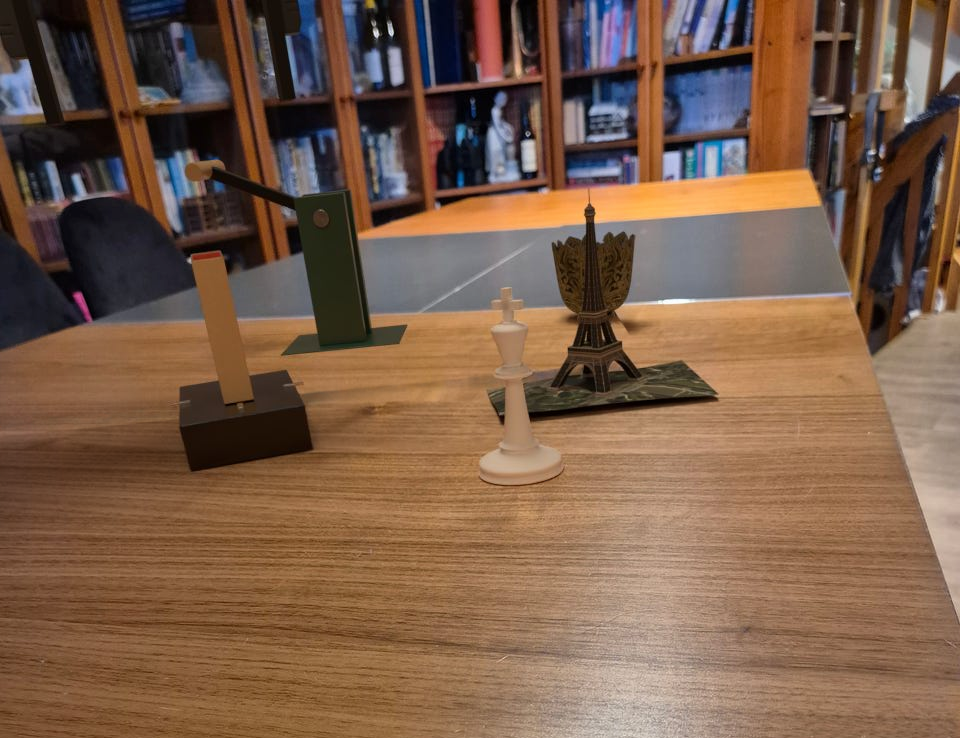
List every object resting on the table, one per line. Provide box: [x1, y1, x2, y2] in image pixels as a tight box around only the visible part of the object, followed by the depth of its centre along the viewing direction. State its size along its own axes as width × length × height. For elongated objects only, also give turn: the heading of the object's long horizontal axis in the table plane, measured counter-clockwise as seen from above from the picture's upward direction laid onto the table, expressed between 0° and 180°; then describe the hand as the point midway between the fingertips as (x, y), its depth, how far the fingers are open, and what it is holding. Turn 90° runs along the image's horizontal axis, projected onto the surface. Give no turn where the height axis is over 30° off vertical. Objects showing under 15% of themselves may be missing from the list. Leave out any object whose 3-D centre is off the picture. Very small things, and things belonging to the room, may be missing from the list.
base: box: [168, 369, 314, 472], centre depth 65 cm, size 12×9×3 cm
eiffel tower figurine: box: [486, 187, 720, 417], centre depth 63 cm, size 15×10×13 cm
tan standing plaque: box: [190, 250, 254, 404], centre depth 62 cm, size 5×2×9 cm, turn 16°
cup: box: [551, 230, 636, 322], centre depth 85 cm, size 8×7×8 cm
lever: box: [184, 159, 296, 212], centre depth 83 cm, size 13×8×2 cm, turn 89°
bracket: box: [280, 188, 408, 357], centre depth 86 cm, size 11×9×14 cm
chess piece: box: [478, 286, 565, 486], centre depth 51 cm, size 5×5×10 cm
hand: (174, 113), depth 56 cm, fingers open, 13 cm apart
